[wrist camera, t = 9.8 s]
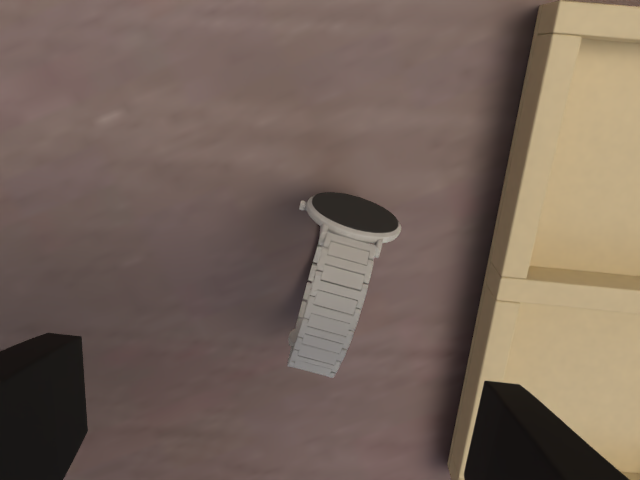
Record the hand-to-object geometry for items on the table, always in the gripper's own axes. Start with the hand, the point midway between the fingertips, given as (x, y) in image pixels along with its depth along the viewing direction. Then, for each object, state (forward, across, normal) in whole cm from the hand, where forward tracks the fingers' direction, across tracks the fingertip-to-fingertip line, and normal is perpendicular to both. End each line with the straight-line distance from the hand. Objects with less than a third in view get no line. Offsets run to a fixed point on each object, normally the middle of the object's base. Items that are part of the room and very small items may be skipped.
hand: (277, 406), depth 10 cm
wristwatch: (+9, -1, 0) cm, 9 cm away
